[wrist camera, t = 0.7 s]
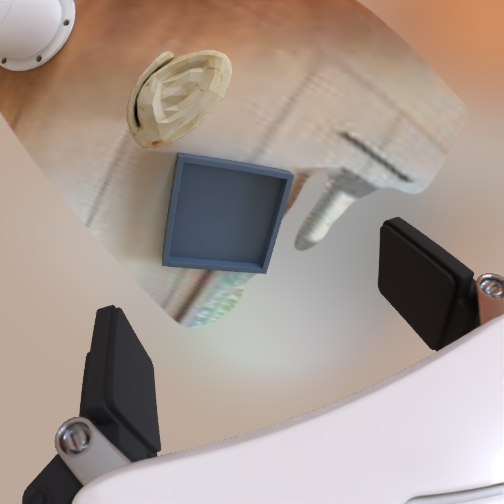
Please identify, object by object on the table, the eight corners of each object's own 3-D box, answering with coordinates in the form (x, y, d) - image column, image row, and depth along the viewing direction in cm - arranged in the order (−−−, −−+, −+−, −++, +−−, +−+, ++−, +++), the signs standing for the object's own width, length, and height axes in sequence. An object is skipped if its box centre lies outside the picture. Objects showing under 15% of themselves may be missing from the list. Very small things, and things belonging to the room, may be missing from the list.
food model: (162, 136, 38) (160, 178, 21) (125, 102, 35) (91, 115, 18) (218, 84, 37) (265, 82, 20) (183, 48, 33) (200, 13, 17)
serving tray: (162, 258, 46) (162, 266, 45) (177, 152, 40) (178, 155, 38) (262, 266, 52) (266, 273, 50) (288, 170, 45) (294, 175, 43)
